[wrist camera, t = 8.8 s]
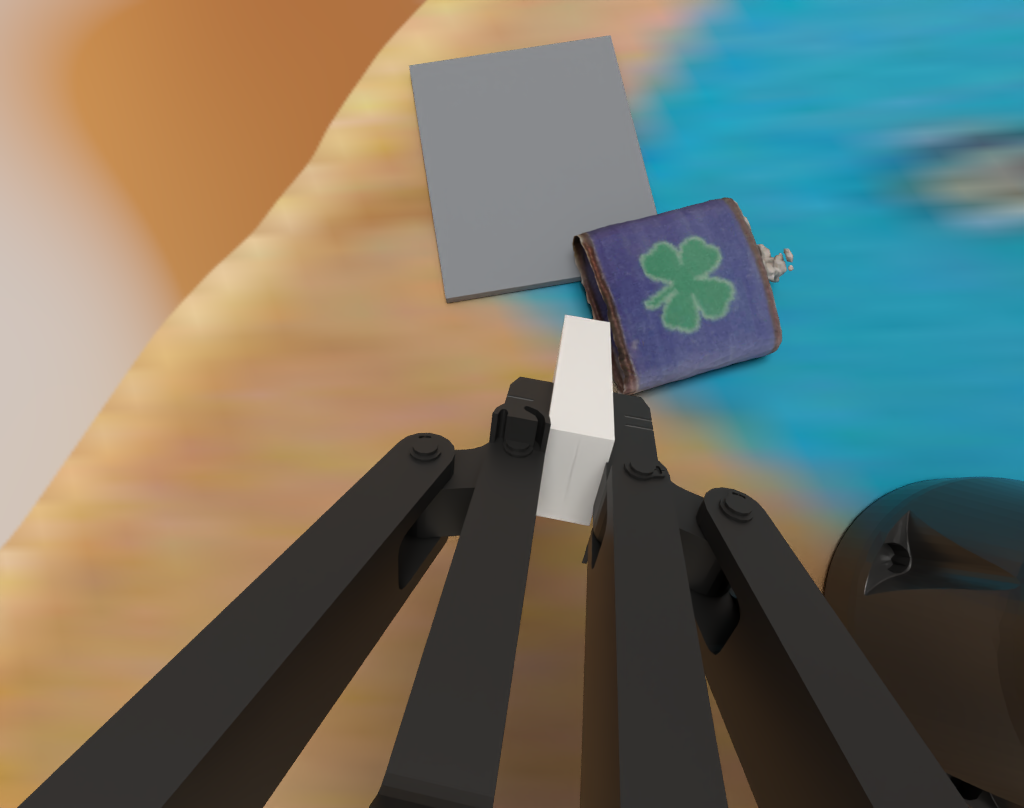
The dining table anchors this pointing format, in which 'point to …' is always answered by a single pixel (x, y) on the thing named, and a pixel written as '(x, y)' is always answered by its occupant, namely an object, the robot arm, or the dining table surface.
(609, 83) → the mat
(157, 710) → the robot arm
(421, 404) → the dining table surface
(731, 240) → the flask
